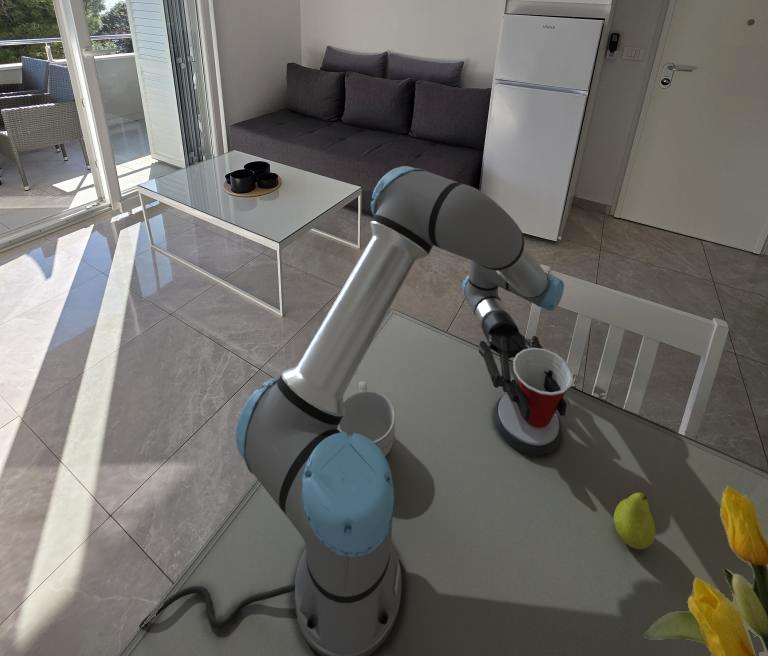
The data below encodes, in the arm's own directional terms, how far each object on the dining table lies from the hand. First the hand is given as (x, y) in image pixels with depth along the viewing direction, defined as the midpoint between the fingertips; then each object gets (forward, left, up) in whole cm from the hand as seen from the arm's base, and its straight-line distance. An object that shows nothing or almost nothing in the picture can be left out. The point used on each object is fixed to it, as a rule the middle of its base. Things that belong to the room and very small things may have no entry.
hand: (545, 412), depth 79 cm
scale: (0, +5, -10) cm, 11 cm away
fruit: (+9, -14, -10) cm, 20 cm away
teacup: (-33, +4, -10) cm, 35 cm away
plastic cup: (+1, +5, -7) cm, 8 cm away
